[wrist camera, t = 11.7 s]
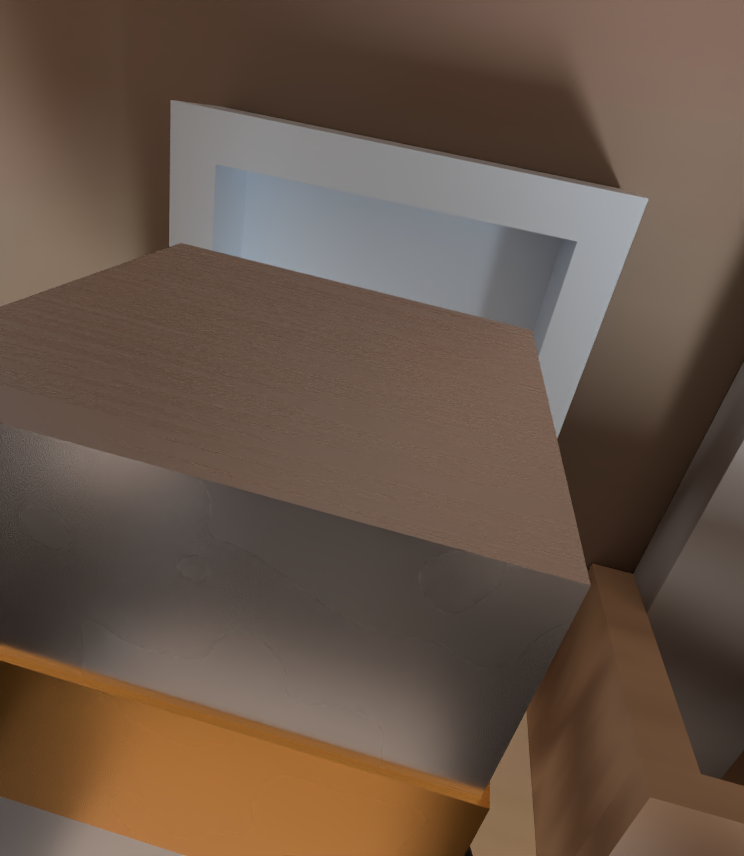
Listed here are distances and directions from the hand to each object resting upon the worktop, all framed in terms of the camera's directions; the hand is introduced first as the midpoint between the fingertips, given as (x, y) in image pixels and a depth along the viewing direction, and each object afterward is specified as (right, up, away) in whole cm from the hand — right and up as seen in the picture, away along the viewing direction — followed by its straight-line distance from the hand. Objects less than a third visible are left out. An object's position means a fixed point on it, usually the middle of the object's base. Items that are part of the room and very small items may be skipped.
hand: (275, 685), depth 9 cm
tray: (+1, +4, +11) cm, 12 cm away
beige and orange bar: (0, 0, 0) cm, 0 cm away
